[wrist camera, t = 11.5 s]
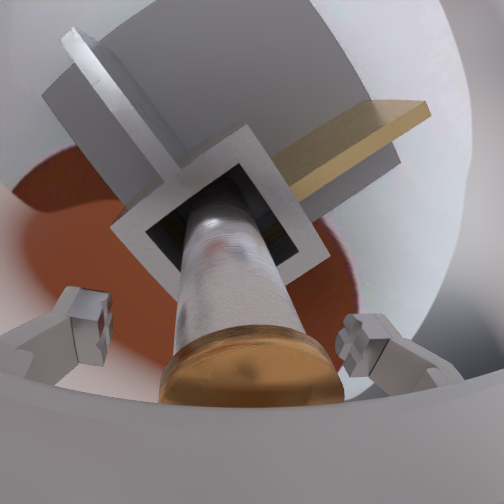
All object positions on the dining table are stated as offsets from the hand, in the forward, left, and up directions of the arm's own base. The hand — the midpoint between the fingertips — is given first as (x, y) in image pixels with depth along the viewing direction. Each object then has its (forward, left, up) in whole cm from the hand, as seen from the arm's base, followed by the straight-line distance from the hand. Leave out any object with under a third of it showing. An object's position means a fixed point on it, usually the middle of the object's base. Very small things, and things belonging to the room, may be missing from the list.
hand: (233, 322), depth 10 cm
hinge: (-5, +5, -15) cm, 17 cm away
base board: (-5, +5, -16) cm, 18 cm away
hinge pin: (0, 0, -15) cm, 15 cm away
